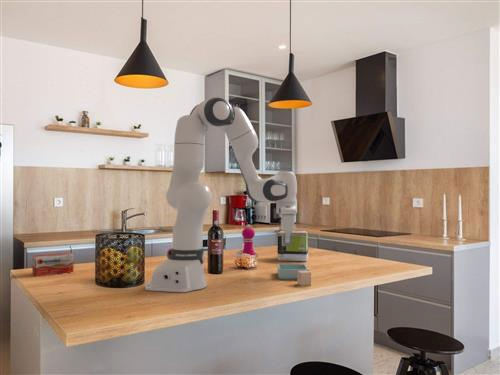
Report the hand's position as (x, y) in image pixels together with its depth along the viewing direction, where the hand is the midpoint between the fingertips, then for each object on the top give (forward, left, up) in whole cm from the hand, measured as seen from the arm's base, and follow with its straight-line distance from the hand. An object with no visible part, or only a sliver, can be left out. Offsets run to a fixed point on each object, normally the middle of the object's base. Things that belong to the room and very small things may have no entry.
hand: (286, 241), depth 174 cm
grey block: (0, 0, -2) cm, 2 cm away
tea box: (+6, +40, -15) cm, 43 cm away
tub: (+2, -2, -14) cm, 15 cm away
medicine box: (-100, +1, -15) cm, 102 cm away
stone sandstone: (+5, -17, -14) cm, 23 cm away
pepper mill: (-17, +18, -15) cm, 28 cm away
